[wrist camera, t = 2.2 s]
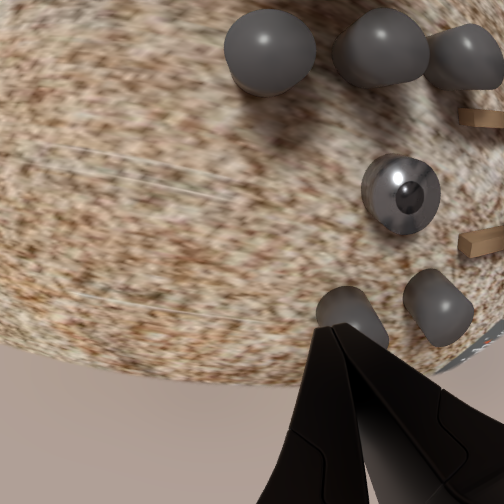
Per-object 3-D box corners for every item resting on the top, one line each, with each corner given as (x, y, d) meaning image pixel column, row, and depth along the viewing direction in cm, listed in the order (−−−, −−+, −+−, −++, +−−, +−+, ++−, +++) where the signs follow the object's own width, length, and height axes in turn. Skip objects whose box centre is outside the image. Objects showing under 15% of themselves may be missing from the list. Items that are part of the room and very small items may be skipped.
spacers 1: (457, 39, 14) (497, 30, 10) (466, 92, 15) (509, 93, 11) (224, 40, 15) (217, 16, 11) (236, 102, 16) (232, 96, 12)
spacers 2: (447, 264, 21) (478, 293, 16) (441, 306, 22) (467, 338, 18) (314, 291, 21) (327, 331, 17) (317, 335, 23) (329, 377, 19)
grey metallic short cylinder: (419, 150, 17) (440, 156, 15) (421, 216, 19) (440, 228, 17) (357, 156, 18) (372, 162, 15) (363, 226, 19) (377, 240, 17)
